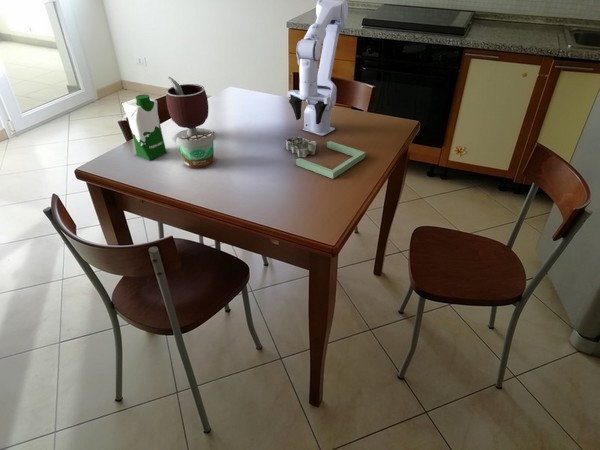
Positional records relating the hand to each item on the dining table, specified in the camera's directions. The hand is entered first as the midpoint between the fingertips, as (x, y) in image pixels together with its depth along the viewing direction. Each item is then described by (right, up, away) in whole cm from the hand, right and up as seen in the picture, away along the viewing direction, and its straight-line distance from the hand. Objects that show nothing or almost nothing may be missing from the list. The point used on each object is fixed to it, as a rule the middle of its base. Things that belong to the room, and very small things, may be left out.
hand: (308, 121), depth 142 cm
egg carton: (-3, -10, +2) cm, 10 cm away
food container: (-34, -16, -6) cm, 38 cm away
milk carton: (-53, -11, +1) cm, 54 cm away
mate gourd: (-42, -3, +13) cm, 44 cm away
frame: (+7, -14, -4) cm, 16 cm away
